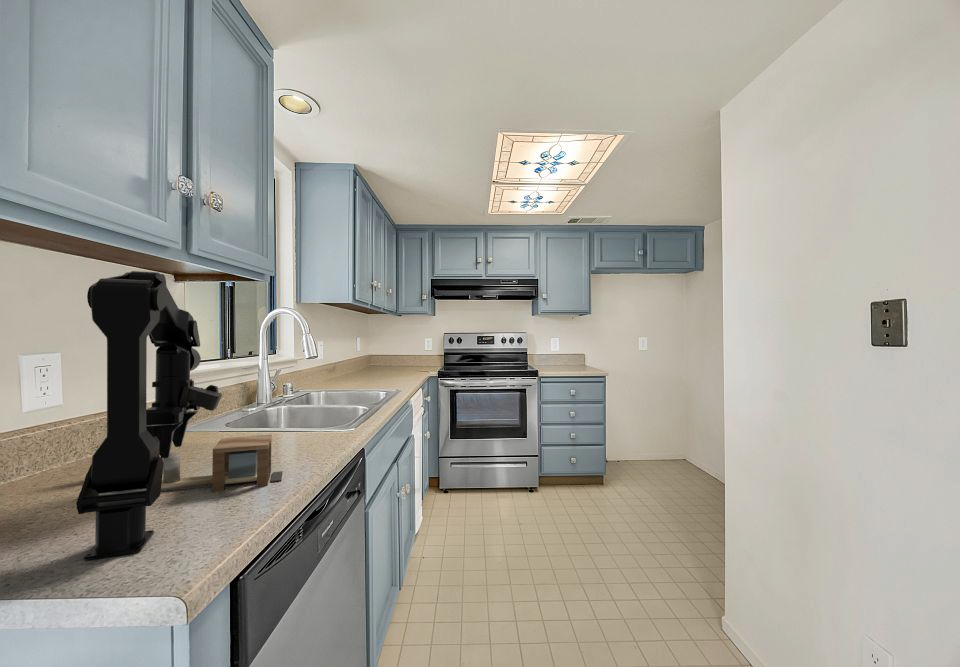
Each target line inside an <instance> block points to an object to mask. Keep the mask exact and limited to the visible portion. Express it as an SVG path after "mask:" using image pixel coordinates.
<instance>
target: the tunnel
mask: <svg viewBox="0 0 960 667" xmlns="http://www.w3.org/2000/svg"><path fill="white" fill-rule="evenodd" d="M246 450H257V481H256V487H265V486H268V485H269V480H268V474H270V473H272V434H263V435H250V436H249V435H248V436H246V435H245V436H237V437H235V436H234V437H223V438H220V440H219V441H218V442H217V443H216V445H214V447H213V448H212V474H211V475H212V486H211V488H212V489H211V490H212V491H211V492H212V493H213V492H221V491H225V472H229V454H230V452H234V451H246Z"/></svg>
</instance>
